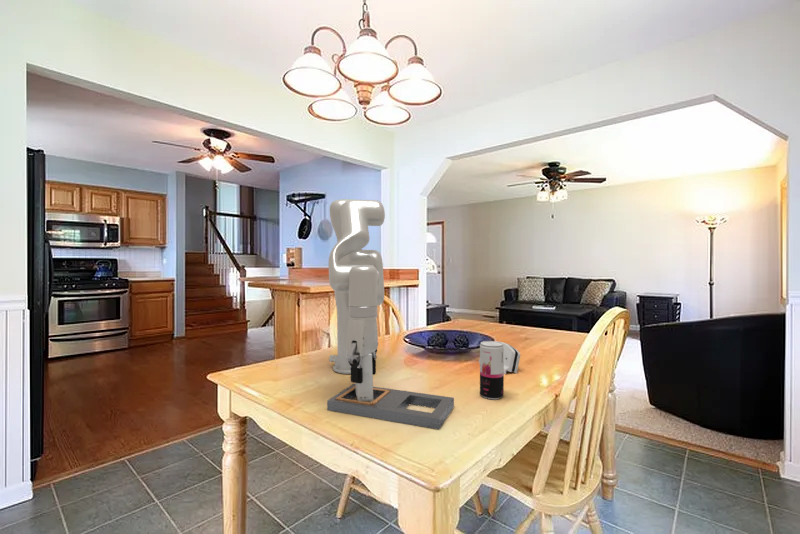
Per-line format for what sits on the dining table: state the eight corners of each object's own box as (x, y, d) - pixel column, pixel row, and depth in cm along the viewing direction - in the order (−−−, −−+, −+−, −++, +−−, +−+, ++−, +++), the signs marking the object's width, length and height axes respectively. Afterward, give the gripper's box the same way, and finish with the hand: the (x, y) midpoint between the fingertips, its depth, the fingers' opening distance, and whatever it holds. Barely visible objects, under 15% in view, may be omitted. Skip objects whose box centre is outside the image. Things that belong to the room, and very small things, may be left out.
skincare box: (373, 400, 100) (373, 354, 99) (356, 402, 99) (356, 355, 98) (370, 392, 106) (370, 349, 105) (354, 393, 105) (354, 350, 104)
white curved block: (478, 362, 143) (485, 336, 144) (488, 365, 144) (495, 339, 145) (504, 374, 127) (513, 346, 128) (515, 378, 129) (524, 349, 130)
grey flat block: (327, 410, 98) (327, 399, 98) (353, 392, 111) (353, 383, 111) (439, 429, 87) (439, 417, 87) (453, 407, 100) (453, 396, 100)
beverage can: (487, 401, 104) (487, 346, 104) (475, 392, 110) (475, 341, 110) (508, 398, 106) (508, 345, 106) (495, 390, 112) (496, 340, 112)
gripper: (365, 307, 111) (366, 368, 111) (333, 316, 95) (334, 386, 95) (389, 308, 108) (389, 370, 109) (360, 317, 92) (360, 390, 93)
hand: (363, 377), depth 102 cm, fingers closed on skincare box, 7 cm apart
